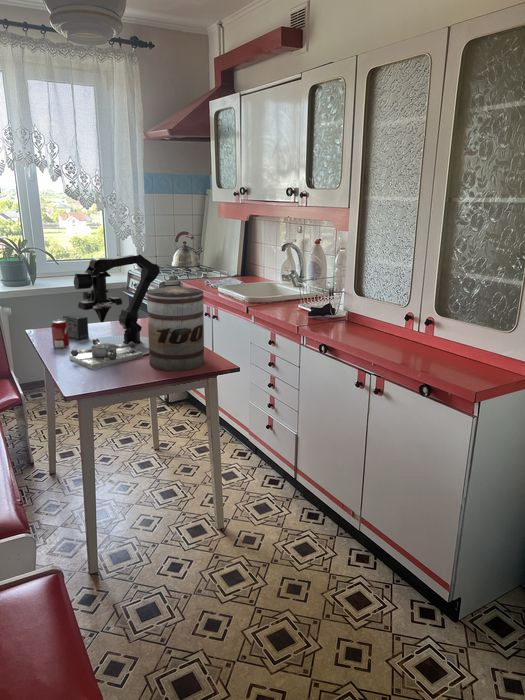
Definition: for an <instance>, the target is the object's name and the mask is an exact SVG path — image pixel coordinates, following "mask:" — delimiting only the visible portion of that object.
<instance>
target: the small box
mask: <svg viewBox="0 0 525 700" xmlns="http://www.w3.org/2000/svg"><path fill="white" fill-rule="evenodd" d="M62 320H65V321H66V323H67V325H68V336H69V339H71V340H75V341H81V340H85V339H89V336H90V335H89V321H88V316H85V315H84V316H83V315H80V314H75V313H73V314H67V315H63V316H62Z"/></svg>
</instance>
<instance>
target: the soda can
mask: <svg viewBox="0 0 525 700" xmlns="http://www.w3.org/2000/svg"><path fill="white" fill-rule="evenodd" d="M50 326H51V327H50V328H51V337H52V346H53V348H55V349H66V348H68V347H69V346H70V338H69V336H68V325H67V323H66V321H65V320H63V319H54V320H52V323H51V325H50Z"/></svg>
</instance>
